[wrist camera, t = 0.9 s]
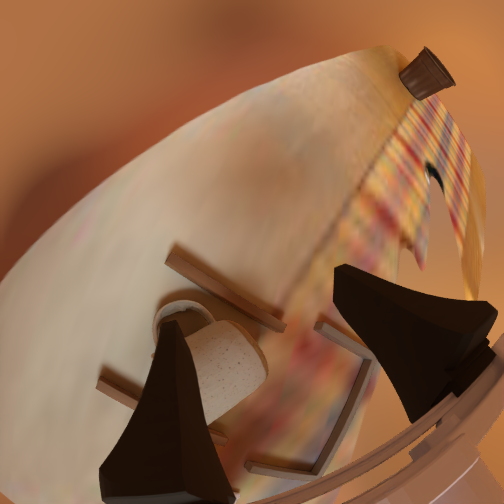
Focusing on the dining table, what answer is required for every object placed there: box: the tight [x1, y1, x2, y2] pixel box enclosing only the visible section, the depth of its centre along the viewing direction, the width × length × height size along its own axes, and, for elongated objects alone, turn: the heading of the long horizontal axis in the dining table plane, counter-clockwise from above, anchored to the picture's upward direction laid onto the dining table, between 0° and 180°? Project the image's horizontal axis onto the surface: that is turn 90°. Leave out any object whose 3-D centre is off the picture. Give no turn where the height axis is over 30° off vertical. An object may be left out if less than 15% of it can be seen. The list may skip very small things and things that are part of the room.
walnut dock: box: [96, 253, 287, 446], centre depth 24 cm, size 15×14×2 cm
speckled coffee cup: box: [151, 299, 268, 425], centre depth 22 cm, size 11×8×8 cm
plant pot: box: [399, 47, 456, 101], centre depth 62 cm, size 16×16×16 cm
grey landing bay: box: [244, 322, 377, 481], centre depth 29 cm, size 20×12×2 cm, turn 151°
